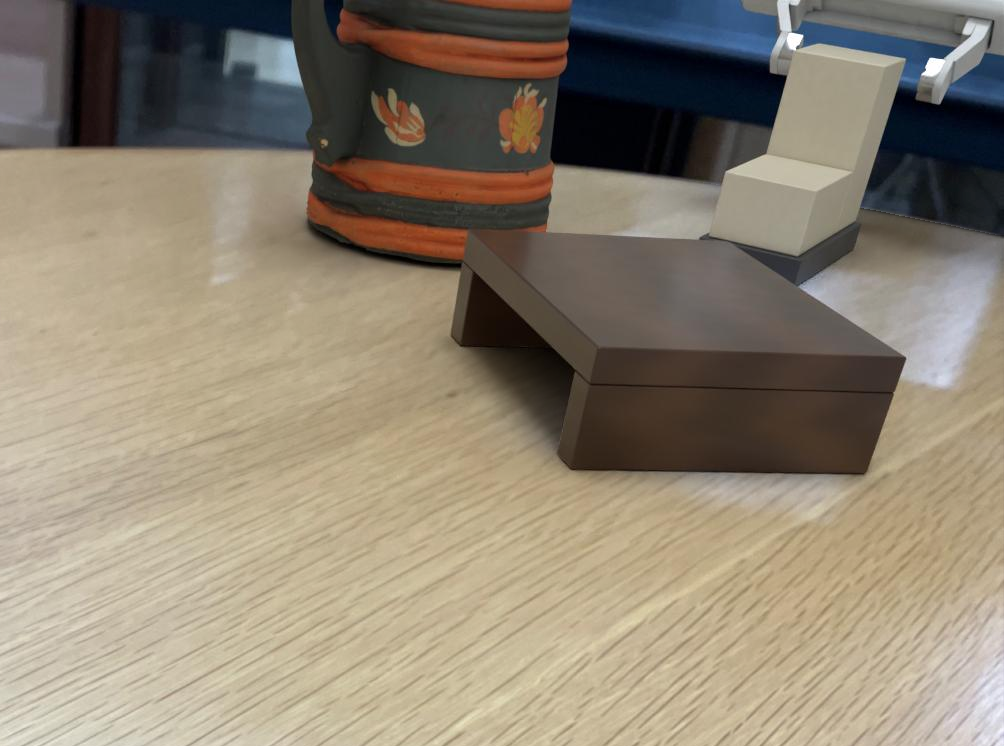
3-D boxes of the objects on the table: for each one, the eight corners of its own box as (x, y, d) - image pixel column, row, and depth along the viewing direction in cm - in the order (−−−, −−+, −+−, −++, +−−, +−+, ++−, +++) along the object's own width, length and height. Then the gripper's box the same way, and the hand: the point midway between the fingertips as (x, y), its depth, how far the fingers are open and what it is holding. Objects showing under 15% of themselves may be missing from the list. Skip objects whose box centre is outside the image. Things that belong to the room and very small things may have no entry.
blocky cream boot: (760, 228, 103) (812, 41, 96) (854, 248, 100) (914, 59, 93) (691, 265, 93) (743, 60, 86) (793, 289, 91) (854, 81, 84)
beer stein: (382, 293, 82) (444, -170, 69) (201, 226, 90) (226, -203, 77) (590, 252, 93) (677, -155, 80) (413, 196, 101) (466, -185, 88)
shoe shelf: (701, 342, 80) (728, 240, 77) (867, 474, 67) (908, 357, 64) (449, 334, 78) (467, 227, 74) (570, 469, 64) (598, 347, 61)
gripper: (1107, -46, 95) (1013, 149, 95) (791, -92, 103) (703, 89, 102) (1130, -134, 89) (1030, 74, 89) (793, -176, 97) (699, 15, 96)
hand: (852, 81), depth 96 cm, fingers open, 8 cm apart
